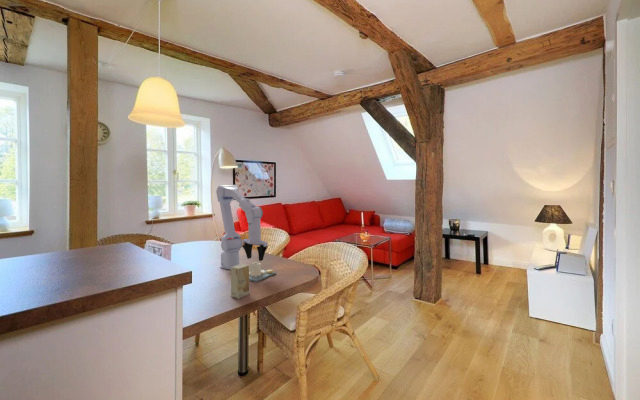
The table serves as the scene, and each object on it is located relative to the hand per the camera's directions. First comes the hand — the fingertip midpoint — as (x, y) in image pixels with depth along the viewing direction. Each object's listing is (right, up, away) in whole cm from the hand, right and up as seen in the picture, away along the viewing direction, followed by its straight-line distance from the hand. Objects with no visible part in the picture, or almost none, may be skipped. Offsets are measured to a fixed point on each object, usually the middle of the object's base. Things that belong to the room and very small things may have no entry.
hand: (255, 259), depth 148 cm
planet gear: (0, -7, 0) cm, 7 cm away
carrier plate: (0, -8, +1) cm, 8 cm away
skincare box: (-1, -10, -24) cm, 26 cm away
